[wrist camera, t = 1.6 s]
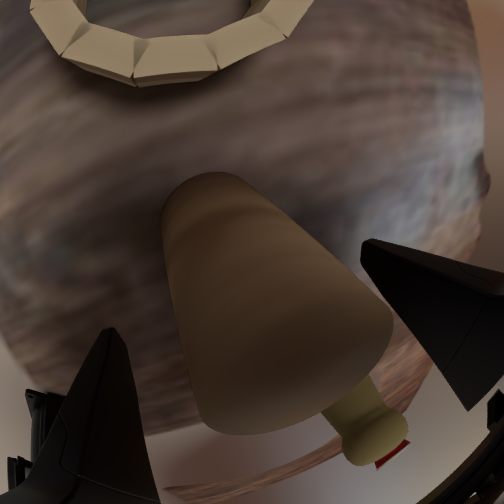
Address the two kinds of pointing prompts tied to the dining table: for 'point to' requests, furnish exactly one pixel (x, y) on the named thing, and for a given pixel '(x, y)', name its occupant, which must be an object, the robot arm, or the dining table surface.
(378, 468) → the plastic cup
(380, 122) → the dining table surface
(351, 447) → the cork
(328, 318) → the walnut peg
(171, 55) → the wooden ring
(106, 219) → the dining table surface
